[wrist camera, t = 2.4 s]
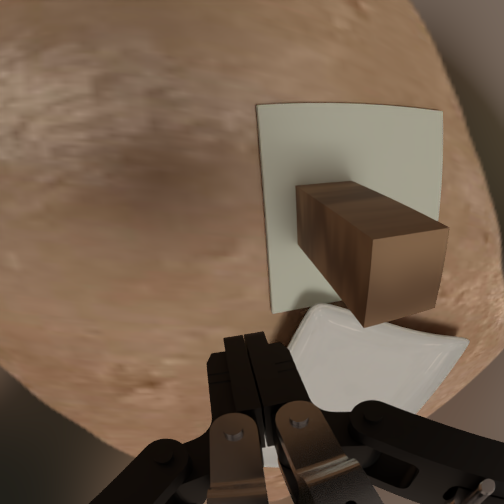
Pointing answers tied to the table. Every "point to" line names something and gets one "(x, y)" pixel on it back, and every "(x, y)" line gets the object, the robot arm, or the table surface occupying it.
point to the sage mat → (339, 175)
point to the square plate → (367, 363)
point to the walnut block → (371, 249)
